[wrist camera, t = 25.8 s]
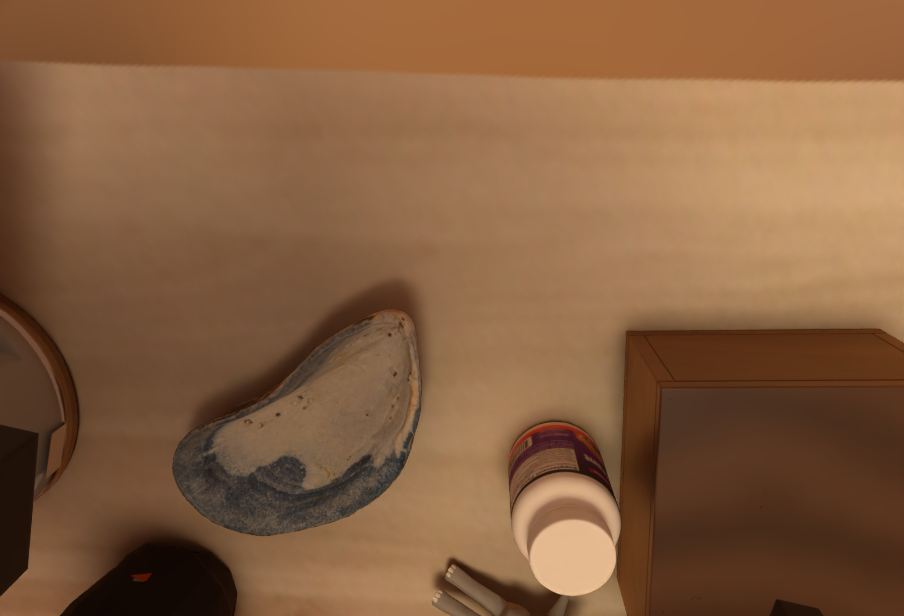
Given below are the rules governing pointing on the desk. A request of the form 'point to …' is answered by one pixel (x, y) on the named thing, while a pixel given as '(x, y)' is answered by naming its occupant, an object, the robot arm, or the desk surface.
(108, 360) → the desk surface
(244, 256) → the desk surface
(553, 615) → the elephant figurine
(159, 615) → the portable speaker
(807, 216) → the desk surface
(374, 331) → the seashell
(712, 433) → the cabinet
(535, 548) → the pill bottle
